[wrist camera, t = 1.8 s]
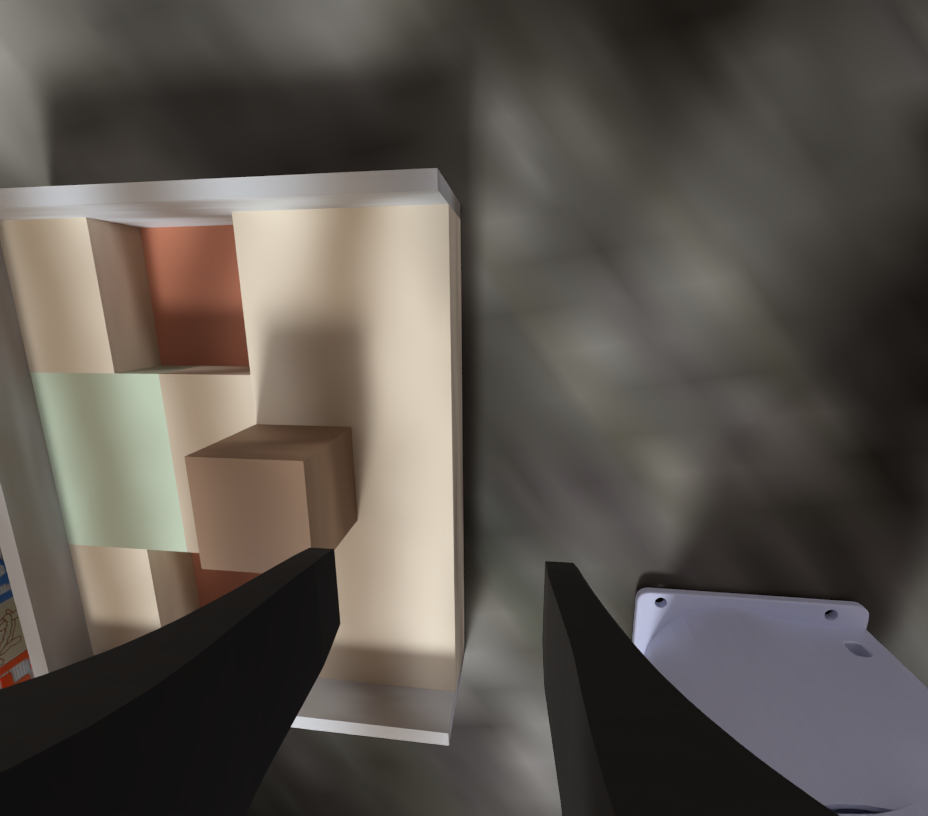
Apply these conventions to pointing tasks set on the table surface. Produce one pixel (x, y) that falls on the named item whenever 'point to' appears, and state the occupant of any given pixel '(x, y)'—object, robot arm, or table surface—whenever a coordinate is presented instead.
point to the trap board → (237, 411)
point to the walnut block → (271, 495)
